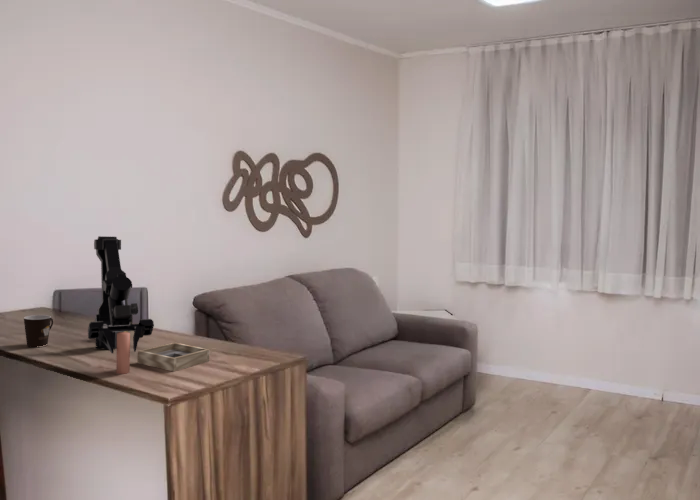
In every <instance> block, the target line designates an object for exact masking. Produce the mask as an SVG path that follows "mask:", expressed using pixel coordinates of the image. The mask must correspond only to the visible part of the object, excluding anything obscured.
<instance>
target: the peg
mask: <svg viewBox="0 0 700 500" xmlns="http://www.w3.org/2000/svg"><path fill="white" fill-rule="evenodd" d="M130 354H131V332H130V333H129V332H120V333H117V347H116V357H115V359H116V362H115V366H116V367H115V369H116V370H115V371H116V374H117V375H127V374H129V373H130V366H131V365H130V364H131V362H130V361H131V359H130V358H131V355H130Z"/></svg>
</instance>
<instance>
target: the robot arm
mask: <svg viewBox="0 0 700 500" xmlns="http://www.w3.org/2000/svg"><path fill="white" fill-rule="evenodd" d="M93 242H94V243H93V249H94V250H95V253H96V257H97V258H98V259H99V261H100V267H101V268H100V269H101V270H100V272H101V273H100V274H101V276H100V277H101V304H100V306H99V307H98V309H97V311H96V314H95V317H94V321H90V322H89V324H88V329H87V338H88V339H89V340H93V339H95V347H94V349H97V350H109V352H110V353H111V354H114V350H115V349H117V333H118V332H122V331H130V332H133V336H132V337H133V338H132V342H133V343H132V346H133V347H132V348H133V352H134V353H135V352H137V347H138V343H139V341H140V339H141V338H143V337H146V336H151V335H152V333H153V330H154V327H155V323H154V320H153V319H151V318H140V319H139V321H138V323H132V324H130V322H132V317H133V315H134V316H135V315H138V313H139V306H138V302H137V303H134V302H133V303H130V304H129V302H128V301H129V300H128V299H129V297H130V294H131V289H133V283H132V280H131V279H130V278H128V276H127V273H126V272H125V271H124V270H123V269H122V267H121V265H122V264H121V259H120V254H119V252H120V251H119V250H122V239H118V237H117V236H101V235H99V236H98V237H97V239H94V241H93Z"/></svg>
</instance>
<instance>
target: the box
mask: <svg viewBox="0 0 700 500" xmlns="http://www.w3.org/2000/svg"><path fill="white" fill-rule="evenodd" d="M210 351H211V349H209V348H204V347H200V346H194V345H188V344H186V343H185V344H184V343H180V342H176V341H175V342H170V343H167V344H162V345H161V344H160V345H157V346H153V347H150V348H149V347H148V348H144V349H140V350H137V364H140V365H145V366H148V367H153V368H158V369H162V370H165V371H171V372H177V371H180V370H184V369H186V368H190V367H194V366H197V365H201V364H205V363H208V362H210Z"/></svg>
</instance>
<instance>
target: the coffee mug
mask: <svg viewBox="0 0 700 500" xmlns="http://www.w3.org/2000/svg"><path fill="white" fill-rule="evenodd" d="M23 323H24V331H25V339H26V347H27V346H28V347H27V348H31V347H37V346H43V345H46V344H48V343H49V335H50V330H51V329H52V328H53V325H54V319H53V318H52V316H51V315H46V314H35V315H34V314H33V315H26V316H24V317H23Z"/></svg>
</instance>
